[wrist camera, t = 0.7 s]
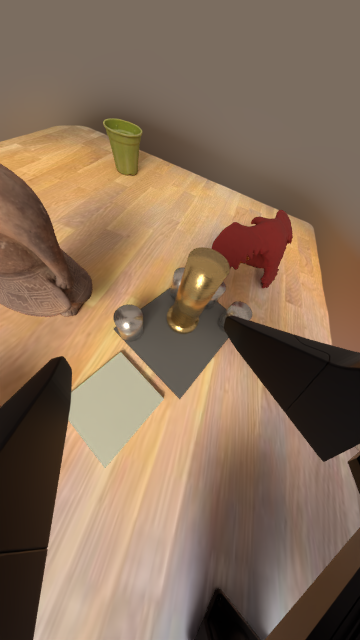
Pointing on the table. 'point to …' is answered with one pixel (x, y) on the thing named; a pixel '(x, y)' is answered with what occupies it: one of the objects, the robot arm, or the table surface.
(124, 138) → the plant pot
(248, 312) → the spacers
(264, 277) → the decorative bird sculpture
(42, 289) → the clay figurine
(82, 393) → the tile
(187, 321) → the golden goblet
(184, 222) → the table surface
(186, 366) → the mat
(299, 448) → the table surface
